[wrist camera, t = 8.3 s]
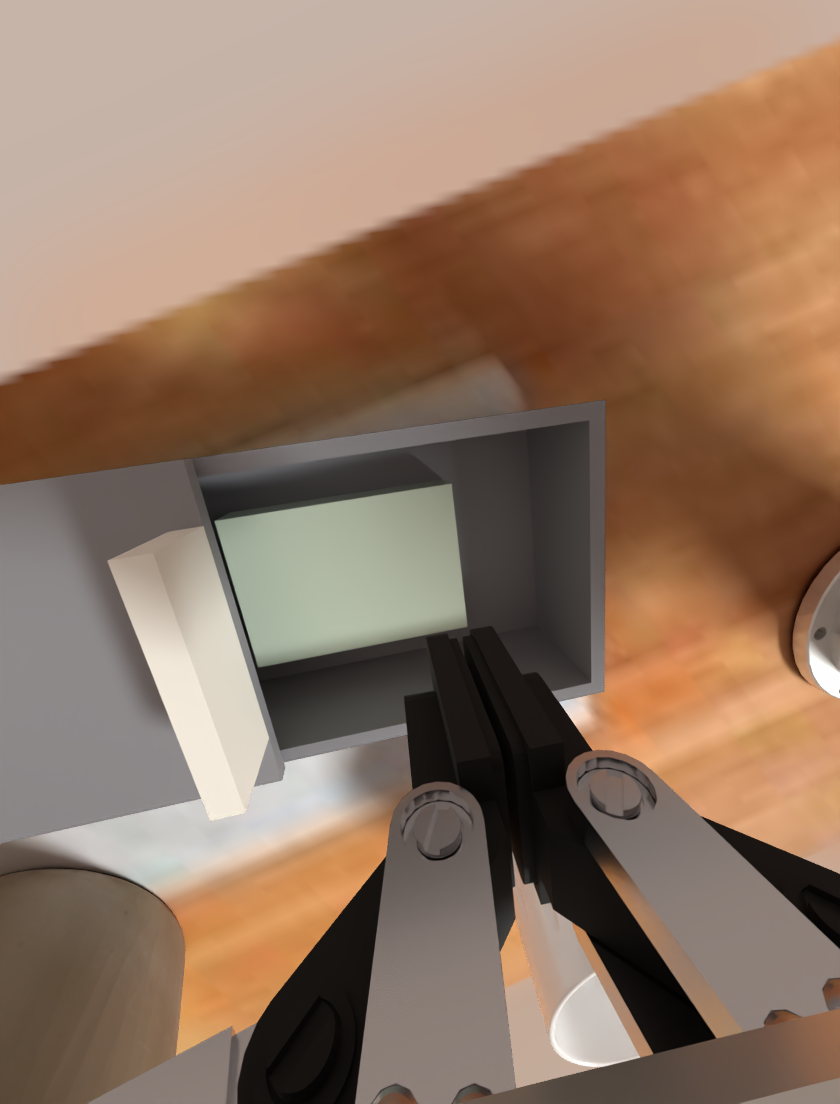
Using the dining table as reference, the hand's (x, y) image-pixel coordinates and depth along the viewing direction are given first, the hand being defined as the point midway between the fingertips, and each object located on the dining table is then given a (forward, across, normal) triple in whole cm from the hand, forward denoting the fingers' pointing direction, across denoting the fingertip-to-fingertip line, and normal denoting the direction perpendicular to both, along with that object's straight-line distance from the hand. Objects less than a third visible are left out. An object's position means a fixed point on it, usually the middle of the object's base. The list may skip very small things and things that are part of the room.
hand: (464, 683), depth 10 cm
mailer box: (+11, +3, 0) cm, 12 cm away
